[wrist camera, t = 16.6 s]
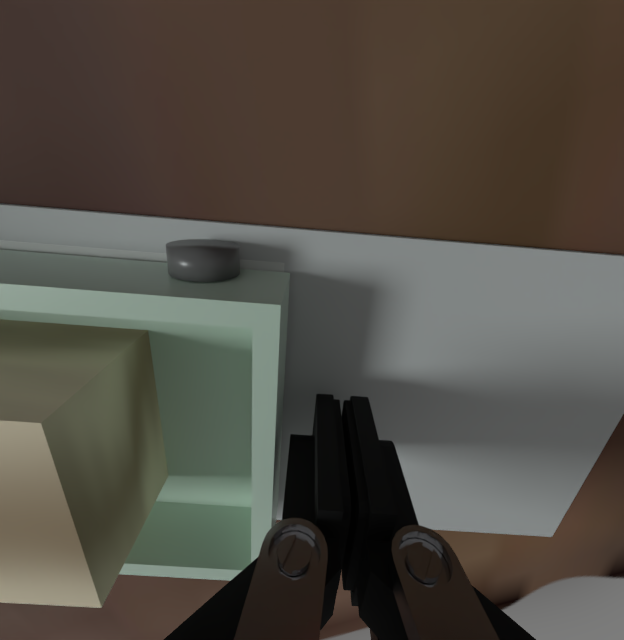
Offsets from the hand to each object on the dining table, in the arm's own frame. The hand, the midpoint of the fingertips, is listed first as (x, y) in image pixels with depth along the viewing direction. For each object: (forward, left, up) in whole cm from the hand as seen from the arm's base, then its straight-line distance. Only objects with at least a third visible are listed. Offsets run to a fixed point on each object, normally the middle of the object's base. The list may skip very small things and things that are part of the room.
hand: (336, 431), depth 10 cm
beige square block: (-9, 0, 0) cm, 9 cm away
